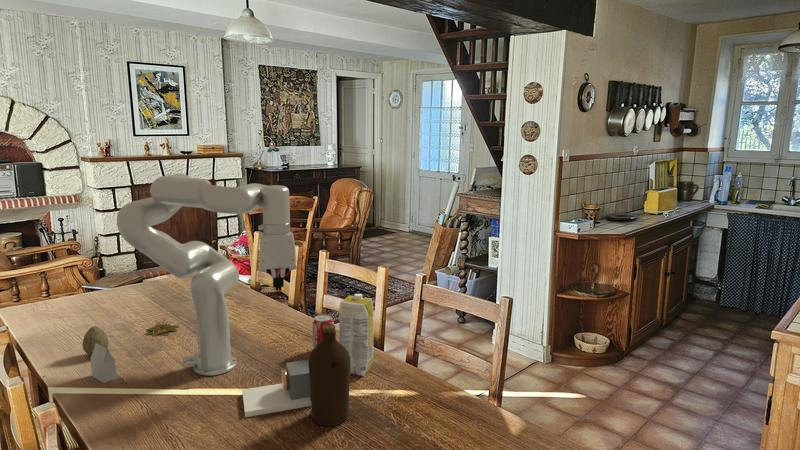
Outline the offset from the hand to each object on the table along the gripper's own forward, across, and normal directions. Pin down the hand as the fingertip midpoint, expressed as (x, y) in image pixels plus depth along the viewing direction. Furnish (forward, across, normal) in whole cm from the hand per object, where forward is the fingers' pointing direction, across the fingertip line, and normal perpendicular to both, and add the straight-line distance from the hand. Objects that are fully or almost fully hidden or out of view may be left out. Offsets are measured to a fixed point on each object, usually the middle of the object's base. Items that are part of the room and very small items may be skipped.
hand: (278, 289), depth 153 cm
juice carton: (+26, +23, -5) cm, 35 cm away
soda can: (+26, +15, +11) cm, 32 cm away
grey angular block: (+27, -50, +10) cm, 58 cm away
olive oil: (+26, +11, -28) cm, 40 cm away
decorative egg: (+27, -56, +27) cm, 68 cm away
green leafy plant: (+28, -39, +44) cm, 65 cm away
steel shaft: (+23, +7, -16) cm, 29 cm away
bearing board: (+26, +3, -16) cm, 31 cm away
